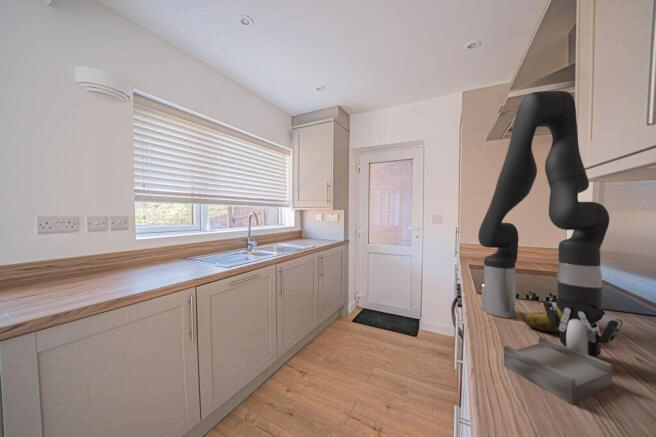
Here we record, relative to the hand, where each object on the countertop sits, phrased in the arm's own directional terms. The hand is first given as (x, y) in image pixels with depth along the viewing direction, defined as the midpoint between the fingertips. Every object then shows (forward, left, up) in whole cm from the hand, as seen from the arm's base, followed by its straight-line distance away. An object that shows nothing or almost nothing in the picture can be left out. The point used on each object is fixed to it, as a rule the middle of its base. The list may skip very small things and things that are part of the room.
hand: (579, 350), depth 57 cm
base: (+2, -14, -2) cm, 14 cm away
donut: (0, 0, -2) cm, 2 cm away
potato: (-10, +10, -2) cm, 14 cm away
